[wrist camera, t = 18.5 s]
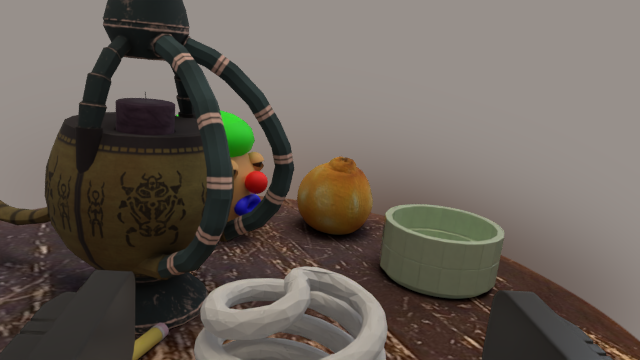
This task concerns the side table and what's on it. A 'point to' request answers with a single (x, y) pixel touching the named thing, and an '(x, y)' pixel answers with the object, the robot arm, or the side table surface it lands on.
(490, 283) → the bowl
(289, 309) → the light bulb
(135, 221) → the teapot
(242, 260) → the side table surface
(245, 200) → the figurine
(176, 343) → the side table surface
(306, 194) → the fruit
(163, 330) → the pencil
